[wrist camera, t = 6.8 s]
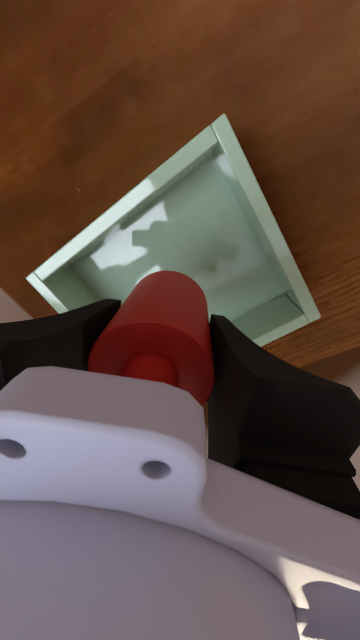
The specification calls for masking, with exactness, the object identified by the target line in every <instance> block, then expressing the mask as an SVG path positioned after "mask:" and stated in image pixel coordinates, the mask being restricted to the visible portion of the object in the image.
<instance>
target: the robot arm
mask: <svg viewBox="0 0 360 640" xmlns="http://www.w3.org/2000/svg"><path fill="white" fill-rule="evenodd" d="M120 307H121V300H117V299H110V298H108V299H103V300H100V301H97V302H94V303H91V304H89V305H86V306H83V307H80V308H77V309H74V310H70V311H67V312H64V313H60V314H57V315H52V316H48V317H43V318H38V319H32V320H25V321H18V322H10V323H0V640H360V491H359V489H358V488H357V486H356V484H355V482H354V480H353V479H352V477H354V476H355V475H356V470H355V468H354V467H353V465H352V463H351V461H350V460H349V459H350V457H351V456H352V455H353V453H354V452H355V451H356V449H357V448H358V446H359V445H360V400H359V398H358V397H357V396H356V395H355V393H354V392H353V391H352V390H351V388H350V387H347V386H344V385H341V384H338V383H335V382H332V381H330V380H327V379H323V378H321V377H318V376H316V375H313V374H311V373H308V372H306V371H303V370H301V369H299V368H297V367H295V366H292V365H290V364H289V363H287V362H285V361H283V360H281V359H279V358H277V357H276V356H274V355H272V354H270V353H269V352H267V351H266V350H264V349H263V348H261V347H260V346H258V345H257V344H256V343H254V342H253V341H252V340H251V339H249V338H248V337H247V336H246V335H245V334H243V333H242V332H241V331H240V330H239V329H238V328H237V327H236V326H235V325H234V324H233V323H232V322H231V321H229V320H228V319H227V318H226V317H225V316H222V315H215V314H211V318H210V323H209V325H210V334H211V343H212V352H213V361H214V370H215V382H214V386H213V390H212V392H211V394H210V396H209V398H208V399H207V401H208V424H209V425H208V429H209V431H208V458H206V434H205V420H204V411H203V407H202V406H201V405H200V404H199V403H198V402H197V401H196V399H195V398H194V397H193V396H192V395H191V394H190V393H189V392H188V391H185V390H182V389H180V388H177V387H174V386H171V385H169V384H166V383H163V382H156V381H149V380H142V379H136V378H129V377H122V376H116V375H109V374H102V373H95V372H89V371H88V357H89V354H90V351H91V349H92V347H93V345H94V343H95V342H96V340H97V339H98V338H99V336H100V335H101V333H102V332H103V331H104V329H105V328H106V326H107V325H108V324H109V322H110V321H111V320H112V318H113V317H114V315H115V314H116V313H117V311H118V310H119V308H120Z"/></svg>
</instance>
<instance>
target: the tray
mask: <svg viewBox="0 0 360 640" xmlns="http://www.w3.org/2000/svg"><path fill="white" fill-rule="evenodd" d="M164 270H168V271H176V272H180V273H182V274H185V275H187V276H189V277H190V278H192V279H193V280H194V281H195V282H196V283H197V284H198V285H199V286H200V287H201V289H202V290H203V292H204V294H205V297H206V300H207V307H208V316H209V323H210V318H211V314H215V315H222V316H225V317H226V318H227V319H228V320H229V321H231V322H232V323H233V324H234V325H235V326H236V327H237V328H238V329H239V330H240V331H241V332H242V333H243V334H245V335H246V336H247V337H248V338H249V339H251V340H252V341H253V342H254V343H256V344H257V345H258V346H260V347H261V346H263V345H265V344H267V343H269V342H271V341H273V340H276V339H278V338H280V337H282V336H284V335H286V334H288V333H290V332H292V331H294V330H296V329H298V328H300V327H302V326H304V325H307V324H308V323H309V322H313V321H315V320H317V319H319V318H321V315H320V313H319V311H318V309H317V307H316V305H315V302H314V300H313V298H312V296H311V294H310V292H309V290H308V288H307V285H306V283H305V281H304V279H303V277H302V275H301V273H300V271H299V269H298V266H297V264H296V262H295V260H294V258H293V256H292V254H291V252H290V249H289V247H288V245H287V243H286V241H285V239H284V237H283V235H282V233H281V230H280V228H279V226H278V224H277V222H276V220H275V218H274V216H273V213H272V211H271V209H270V207H269V205H268V203H267V201H266V199H265V197H264V194H263V192H262V190H261V188H260V186H259V184H258V182H257V180H256V177H255V175H254V173H253V171H252V169H251V167H250V165H249V163H248V161H247V158H246V156H245V154H244V152H243V150H242V148H241V146H240V144H239V141H238V139H237V137H236V135H235V133H234V131H233V129H232V127H231V124H230V122H229V120H228V118H227V116H226V114H225V113H224V114H222V115H221V116H220V117H218V118H217V119H216V120H215V121H214V122H212V123H211V126H210V125H209V126H208V127H206V128H205V129H204V130H203V131H202V132H200V133H199V134H198V135H197V136H195V137H194V138H193V139H192V140H191V141H189V142H188V143H187V144H186V145H185V146H183V147H182V148H181V149H180V150H179V151H177V152H176V153H175V154H174V155H173V156H171V157H170V158H169V159H168V160H167V161H165V162H164V163H163V164H162V165H161V166H159V167H158V168H157V169H156V170H155V171H153V172H152V173H151V174H150V175H149V176H147V177H146V178H145V179H144V180H143V181H141V182H140V183H139V184H138V185H136V186H135V187H134V188H133V189H132V190H130V191H129V192H128V193H127V194H126V195H124V196H123V197H122V198H121V199H120V200H118V201H117V202H116V203H115V204H114V205H112V206H111V207H110V208H109V209H108V210H106V211H105V212H104V213H103V214H102V215H100V216H99V217H98V218H97V219H96V220H94V221H93V222H92V223H91V224H90V225H88V226H87V227H86V228H85V229H84V230H82V231H81V232H80V233H79V234H78V235H76V236H75V237H74V238H73V239H71V240H70V241H69V242H68V243H67V244H65V245H64V246H63V247H62V248H61V249H59V250H58V251H57V252H56V253H55V254H53V255H52V256H51V257H50V258H49V259H47V260H46V261H45V262H44V263H43V264H41V265H40V266H39V267H38V268H37V269H35V270H34V271H33V272H32V273H31V274H29V275H28V276H27V277H26V279H27V280H28V281H29V283H30V284H31V285H32V286H33V287H34V288H35V289H36V290H37V291H38V292H39V293H40V294H41V295H42V296H43V297H44V298H45V299H46V300H47V301H48V303H49V304H50V305H51V306H52V307H53V308H54V309H55V310H56V311H57V312H58V313H59V314H60V313H64V312H67V311H70V310H74V309H77V308H80V307H83V306H86V305H89V304H91V303H94V302H97V301H100V300H103V299H108V298H110V299H117V300H121V306H122V304H123V303H124V301H125V300H126V299H127V297H128V296H129V294H130V293H131V292H132V290H133V289H134V287H135V286H136V285H137V283H138V282H139V281H140V280H141V279H143V278H144V277H145V276H147V275H149V274H151V273H154V272H158V271H164Z"/></svg>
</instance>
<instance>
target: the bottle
mask: <svg viewBox="0 0 360 640" xmlns="http://www.w3.org/2000/svg"><path fill="white" fill-rule="evenodd" d="M88 371H89V372H95V373H102V374H109V375H116V376H122V377H129V378H136V379H142V380H149V381H156V382H163V383H166V384H169V385H171V386H174V387H177V388H180V389H182V390H185V391H188V392H189V393H190V394H191V395H192V396H193V397H194V398H195V399H196V401H197V402H198V403H199V404H200V405H201V406H202V405H203V404H204V403H205V402H206V401H207V399H208V398H209V396H210V394H211V392H212V390H213V386H214V382H215V370H214V361H213V352H212V343H211V334H210V325H209V316H208V307H207V300H206V297H205V294H204V292H203V290H202V289H201V287H200V286H199V285H198V284H197V283H196V282H195V281H194V280H193V279H192V278H190V277H189V276H187V275H185V274H182V273H180V272H176V271H168V270H164V271H158V272H154V273H151V274H149V275H147V276H145V277H144V278H143V279H141V280H140V281H139V282H138V283H137V285H136V286H135V287H134V289H133V290H132V292H131V293H130V294H129V296H128V297H127V299H126V300H125V301H124V303H123V304H122V306H121V307H120V308H119V310H118V311H117V313H116V314H115V315H114V317H113V318H112V320H111V321H110V322H109V324H108V325H107V326H106V328H105V329H104V331H103V332H102V333H101V335H100V336H99V338H98V339H97V340H96V342H95V343H94V345H93V347H92V349H91V351H90V354H89V357H88Z"/></svg>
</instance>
